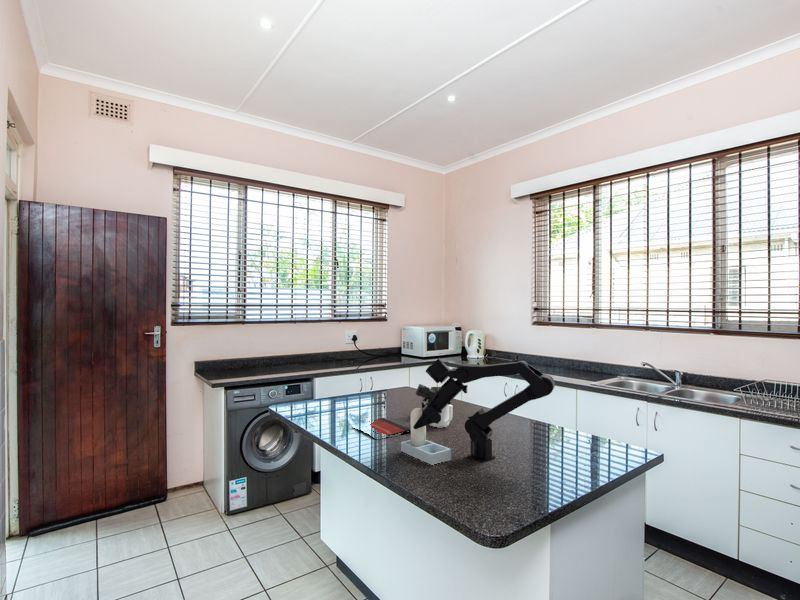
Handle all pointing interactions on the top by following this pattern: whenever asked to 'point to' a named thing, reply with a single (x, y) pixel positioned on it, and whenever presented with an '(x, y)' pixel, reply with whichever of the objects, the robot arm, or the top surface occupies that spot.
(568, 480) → the top surface
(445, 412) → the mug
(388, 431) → the binder
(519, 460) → the top surface
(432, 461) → the divided tray
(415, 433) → the cream rounded cylinder
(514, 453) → the top surface
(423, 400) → the robot arm
